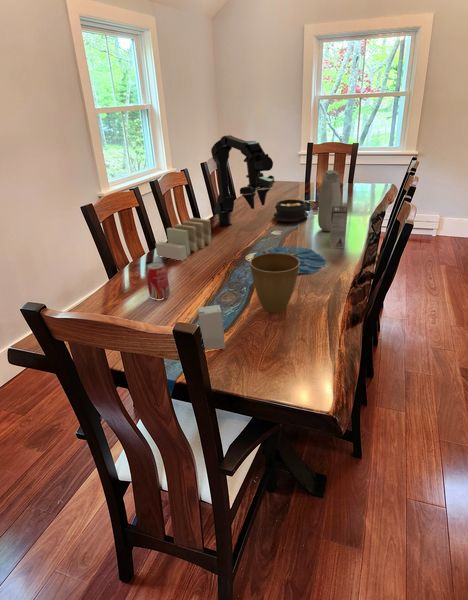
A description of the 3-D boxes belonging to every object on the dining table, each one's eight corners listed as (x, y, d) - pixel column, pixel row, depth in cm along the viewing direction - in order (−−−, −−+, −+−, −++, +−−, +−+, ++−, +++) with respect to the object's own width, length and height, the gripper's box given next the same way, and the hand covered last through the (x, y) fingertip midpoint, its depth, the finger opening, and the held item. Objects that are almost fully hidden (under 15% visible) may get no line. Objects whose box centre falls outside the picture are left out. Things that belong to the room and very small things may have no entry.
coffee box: (329, 241, 180) (331, 205, 172) (344, 241, 179) (347, 205, 171) (329, 248, 172) (332, 211, 164) (345, 248, 171) (348, 211, 163)
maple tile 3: (180, 247, 183) (177, 224, 178) (197, 250, 178) (195, 226, 173) (177, 249, 181) (174, 225, 176) (195, 252, 176) (192, 228, 171)
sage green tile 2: (187, 243, 187) (185, 220, 182) (205, 246, 182) (202, 223, 177) (185, 245, 185) (182, 222, 180) (202, 248, 180) (200, 224, 175)
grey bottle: (340, 233, 189) (345, 172, 176) (319, 234, 189) (322, 173, 176) (336, 226, 198) (340, 168, 185) (315, 227, 198) (318, 169, 185)
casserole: (303, 226, 202) (304, 209, 198) (268, 224, 208) (267, 208, 204) (312, 212, 223) (312, 197, 219) (279, 211, 229) (279, 196, 225)
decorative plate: (330, 254, 171) (331, 242, 168) (320, 282, 145) (321, 269, 143) (263, 246, 179) (263, 235, 177) (242, 272, 154) (242, 259, 152)
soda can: (151, 293, 141) (145, 262, 136) (171, 292, 142) (166, 260, 136) (149, 302, 135) (143, 270, 130) (169, 301, 135) (165, 268, 130)
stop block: (161, 254, 176) (159, 241, 173) (186, 259, 169) (185, 245, 166) (157, 256, 174) (155, 243, 171) (182, 261, 167) (180, 248, 164)
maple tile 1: (194, 240, 191) (192, 217, 186) (211, 243, 186) (209, 219, 181) (192, 241, 189) (189, 218, 184) (209, 244, 185) (207, 221, 179)
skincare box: (223, 341, 112) (220, 303, 106) (225, 350, 108) (222, 311, 102) (201, 344, 111) (197, 306, 105) (203, 353, 107) (198, 314, 101)
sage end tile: (172, 251, 179) (169, 227, 174) (190, 254, 174) (187, 230, 169) (169, 252, 177) (166, 229, 172) (187, 256, 172) (184, 231, 167)
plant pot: (245, 316, 124) (243, 268, 116) (259, 295, 136) (258, 250, 129) (292, 322, 119) (293, 273, 111) (302, 300, 131) (304, 254, 124)
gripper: (258, 172, 166) (263, 210, 172) (279, 167, 180) (283, 202, 186) (236, 175, 172) (241, 211, 178) (258, 170, 186) (262, 203, 192)
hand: (258, 207), depth 183 cm, fingers open, 9 cm apart
